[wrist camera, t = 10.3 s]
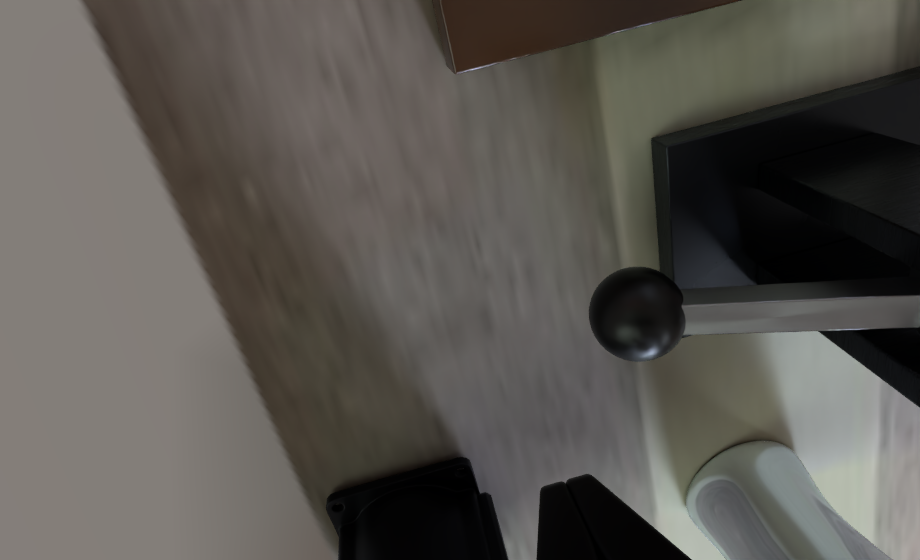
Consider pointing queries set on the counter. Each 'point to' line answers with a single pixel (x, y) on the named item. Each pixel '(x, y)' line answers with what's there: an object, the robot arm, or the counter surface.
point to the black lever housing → (802, 203)
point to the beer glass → (770, 509)
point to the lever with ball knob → (740, 309)
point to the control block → (541, 25)
